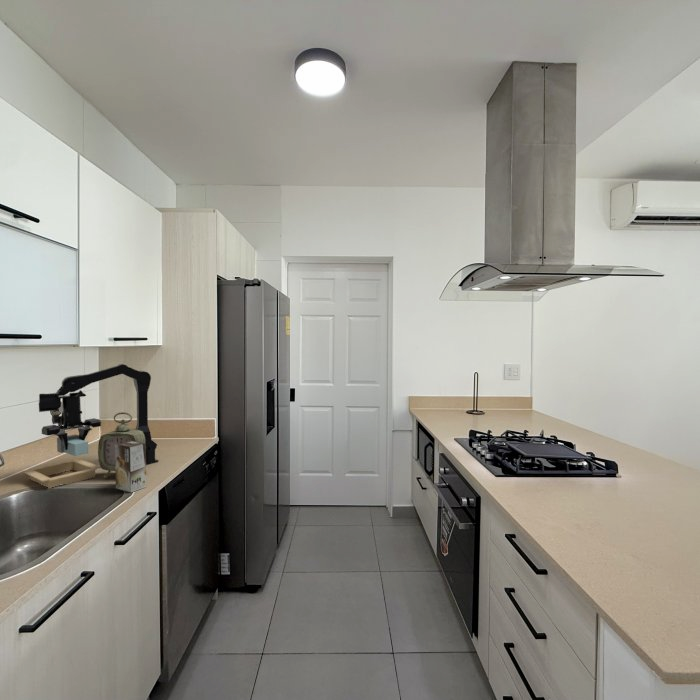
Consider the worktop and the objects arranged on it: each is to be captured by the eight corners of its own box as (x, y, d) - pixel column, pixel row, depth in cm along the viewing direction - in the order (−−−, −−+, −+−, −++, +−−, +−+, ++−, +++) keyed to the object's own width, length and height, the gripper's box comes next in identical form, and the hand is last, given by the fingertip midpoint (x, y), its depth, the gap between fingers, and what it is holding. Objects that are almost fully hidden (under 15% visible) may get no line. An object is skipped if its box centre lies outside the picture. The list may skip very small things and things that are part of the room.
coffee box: (147, 487, 146) (147, 442, 145) (130, 493, 140) (130, 446, 140) (131, 483, 150) (130, 439, 150) (114, 488, 144) (113, 443, 144)
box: (91, 452, 157) (90, 438, 157) (72, 456, 152) (71, 442, 152) (75, 447, 165) (75, 434, 165) (57, 451, 159) (56, 437, 159)
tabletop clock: (98, 480, 153) (97, 414, 152) (111, 472, 162) (110, 410, 161) (137, 479, 153) (136, 414, 153) (148, 472, 162) (147, 410, 162)
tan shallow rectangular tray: (102, 476, 157) (102, 467, 157) (43, 491, 142) (43, 481, 141) (78, 467, 169) (78, 458, 169) (22, 480, 153) (22, 470, 153)
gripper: (88, 403, 170) (89, 440, 171) (35, 410, 155) (36, 451, 156) (101, 405, 164) (102, 443, 165) (46, 413, 149) (48, 455, 149)
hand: (73, 448), depth 159 cm, fingers closed on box, 4 cm apart
